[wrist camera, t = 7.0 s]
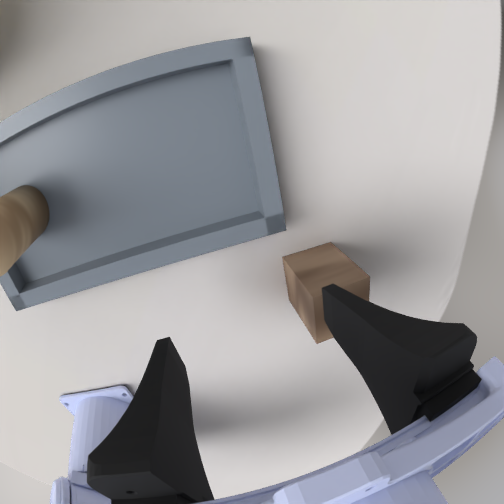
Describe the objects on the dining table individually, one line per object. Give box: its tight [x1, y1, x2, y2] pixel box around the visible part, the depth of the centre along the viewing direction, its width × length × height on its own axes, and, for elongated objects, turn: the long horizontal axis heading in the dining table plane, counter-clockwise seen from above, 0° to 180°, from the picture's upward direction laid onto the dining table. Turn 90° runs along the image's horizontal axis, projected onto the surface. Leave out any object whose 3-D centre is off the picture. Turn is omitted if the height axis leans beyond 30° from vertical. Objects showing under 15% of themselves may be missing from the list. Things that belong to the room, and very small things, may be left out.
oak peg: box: [0, 185, 49, 277], centre depth 13 cm, size 4×4×6 cm
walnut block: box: [282, 242, 370, 344], centre depth 21 cm, size 4×4×6 cm
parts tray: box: [0, 37, 286, 311], centre depth 16 cm, size 12×20×2 cm, turn 101°
